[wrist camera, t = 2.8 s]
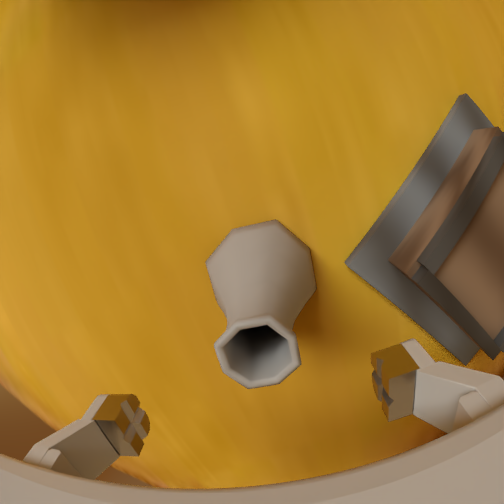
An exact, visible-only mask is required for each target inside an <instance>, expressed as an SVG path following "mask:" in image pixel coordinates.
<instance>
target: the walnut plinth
mask: <svg viewBox="0 0 504 504" xmlns="http://www.w3.org/2000/svg"><path fill="white" fill-rule="evenodd" d="M344 263H345V264H346V265H347V266H348V267H349V268H351V269H352V270H353V271H354V272H356V273H357V274H358V275H359V276H361V277H362V278H363V279H364V280H366V281H367V282H368V283H369V284H370V285H372V286H373V287H374V288H375V289H377V290H378V291H379V292H380V293H382V294H383V295H384V296H385V297H386V298H388V299H389V300H390V301H391V302H393V303H394V304H395V305H396V306H397V307H399V308H400V309H401V310H402V311H403V312H405V313H406V314H407V315H408V316H409V317H410V318H412V319H413V320H414V321H415V322H416V323H418V324H419V325H420V326H421V327H422V328H423V329H425V330H426V331H427V332H428V333H429V334H430V335H432V336H433V337H434V338H435V339H436V340H437V341H438V342H440V343H441V344H442V345H443V346H444V347H445V348H446V349H448V350H449V351H450V352H451V353H452V354H453V355H454V356H455V357H457V358H458V359H459V360H460V361H461V362H462V363H463V364H464V365H465V366H466V365H467V364H468V362H469V361H470V360H471V359H472V358H473V356H474V355H475V354H476V353H477V352H478V350H479V349H480V348H481V349H482V350H483V351H484V352H485V353H486V354H487V355H488V356H489V357H490V358H491V359H492V360H494V359H495V357H496V356H497V355H498V354H499V352H500V351H502V352H504V132H502V131H501V130H500V128H499V127H494V126H493V125H492V124H491V122H490V121H489V120H488V118H487V117H486V116H485V115H484V114H483V112H482V111H481V110H480V109H479V107H478V106H477V105H476V104H475V103H474V102H473V100H472V99H471V98H470V97H469V96H468V95H467V94H463V95H460V96H459V97H458V99H457V100H456V102H455V104H454V106H453V107H452V109H451V111H450V112H449V114H448V115H447V117H446V119H445V120H444V122H443V124H442V125H441V127H440V128H439V130H438V132H437V133H436V135H435V136H434V138H433V140H432V141H431V143H430V144H429V146H428V147H427V149H426V150H425V152H424V153H423V155H422V156H421V158H420V159H419V161H418V162H417V164H416V165H415V167H414V168H413V170H412V171H411V173H410V174H409V176H408V177H407V179H406V180H405V182H404V183H403V184H402V186H401V187H400V189H399V190H398V192H397V193H396V194H395V196H394V197H393V199H392V200H391V201H390V203H389V204H388V205H387V207H386V208H385V210H384V211H383V212H382V214H381V215H380V216H379V218H378V219H377V221H376V222H375V223H374V225H373V226H372V227H371V229H370V230H369V231H368V233H367V234H366V235H365V236H364V238H363V239H362V240H361V242H360V243H359V244H358V246H357V247H356V248H355V249H354V251H353V252H352V253H351V255H350V256H349V257H348V258H347V260H346V261H345V262H344Z"/></svg>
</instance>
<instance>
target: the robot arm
mask: <svg viewBox="0 0 504 504" xmlns="http://www.w3.org/2000/svg"><path fill="white" fill-rule="evenodd" d="M371 364H372V366H373V368H374V371H373V373H372V382H373V387H374V391H375V394H376V396H377V399H378V400H379V401H382V409H383V411H384V414H385V416H386V418H387V420H388V422H389V421H392V420H396V419H399V418H402V417H405V416H408V415H411V414H413V415H415V416H416V417H418V418H420V419H422V420H424V421H425V422H427V423H429V424H431V425H433V426H435V427H437V428H438V429H440V430H442V431H444V432H446V433H448V434H447V435H444V436H442V437H440V438H438V439H435V440H433V441H431V442H428V443H426V444H424V445H421V446H419V447H416V448H414V449H411V450H408V451H406V452H403V453H400V454H397V455H395V456H392V457H389V458H386V459H383V460H379V461H376V462H373V463H370V464H366V465H363V466H359V467H356V468H352V469H348V470H344V471H340V472H336V473H332V474H327V475H323V476H318V477H313V478H308V479H302V480H296V481H290V482H283V483H276V484H268V485H259V486H248V487H235V488H214V489H179V488H158V487H145V486H135V485H126V484H118V483H111V482H105V481H99V480H94V479H95V478H96V477H98V476H99V475H100V474H101V473H102V472H103V471H104V470H105V469H107V468H108V467H109V466H110V465H111V464H112V463H113V462H114V461H115V460H117V459H118V458H119V457H120V456H139V455H140V452H141V450H142V448H143V445H144V442H143V440H142V439H144V438H145V437H146V436H147V435H148V433H149V430H150V422H149V418H148V416H147V414H146V412H145V411H144V410H142V409H141V408H139V406H140V402H139V400H138V398H137V397H136V396H135V395H133V394H111V395H110V394H101V395H98V396H97V397H96V399H95V400H94V401H93V403H92V404H91V406H90V407H89V409H88V410H87V411H86V413H85V414H84V416H83V417H82V419H81V420H79V419H78V420H76V421H74V422H73V423H71V424H69V425H68V426H66V427H64V428H62V429H61V430H59V431H57V432H55V433H54V434H52V435H50V436H48V437H47V438H45V439H43V440H41V441H40V442H38V443H36V444H35V445H34V446H33V447H32V449H31V450H30V451H29V453H28V454H27V456H26V457H25V458H24V460H23V461H20V460H17V459H14V458H11V457H8V456H6V455H3V454H1V453H0V504H504V380H503V379H502V378H501V377H500V376H497V375H493V374H488V373H484V372H480V371H476V370H472V369H468V368H464V367H460V366H456V365H452V364H448V363H445V362H441V361H439V362H435V361H434V360H433V359H432V358H431V357H430V355H429V354H428V353H427V352H426V351H425V350H424V349H423V347H422V346H421V345H420V344H419V343H418V342H417V341H416V339H410V340H407V341H405V342H402V343H400V344H398V345H395V346H392V347H389V348H386V349H382V350H379V351H376V352H373V353H371Z"/></svg>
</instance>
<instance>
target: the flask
mask: <svg viewBox="0 0 504 504" xmlns="http://www.w3.org/2000/svg"><path fill="white" fill-rule="evenodd" d="M206 266H207V270H208V273H209V277H210V280H211V284H212V287H213V290H214V294H215V297H216V301H217V303H218V305H219V306H220V308H221V309H222V311H223V312H224V314H225V316H226V318H227V323H228V324H227V329H226V331H225V332H224V333H223V334H222V335H221V336H220V337H219V338H218V340H217V341H216V342H215V343H214V348H215V351H216V354H217V357H218V359H219V362H220V365H221V368H222V371H223V373H225V374H226V375H227V376H229V377H230V378H232V379H233V380H235V381H237V382H238V383H240V384H241V385H243V386H244V387H246V388H247V389H252V388H258V387H264V386H271V385H276V384H280V383H281V382H282V381H283V380H284V379H286V378H287V377H288V376H289V375H290V374H291V373H292V372H294V371H295V370H296V369H297V368H298V367H299V366H300V365H301V358H300V353H299V348H298V343H297V338H296V334H295V333H294V331H292V329H293V325H294V321H295V319H296V318H297V316H298V314H299V313H300V311H301V310H302V308H303V307H304V305H305V304H306V302H307V301H308V300H309V298H310V297H311V296H312V295H313V293H314V292H315V290H316V289H317V287H316V281H315V276H314V270H313V265H312V260H311V254H310V249H309V247H308V246H306V245H305V244H304V243H303V242H302V241H301V240H299V239H298V238H297V237H296V236H295V235H294V234H292V233H291V232H290V231H289V230H288V229H287V228H285V227H284V226H283V225H282V224H281V223H280V222H278V221H277V220H271V221H267V222H262V223H258V224H254V225H249V226H245V227H240V228H236V229H232V230H231V232H230V233H229V234H228V235H227V236H226V238H225V239H224V240H223V241H222V242H221V244H220V245H219V246H218V247H217V248H216V250H215V251H214V252H213V253H212V255H211V256H210V257H209V258H208V259H207V261H206Z"/></svg>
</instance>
